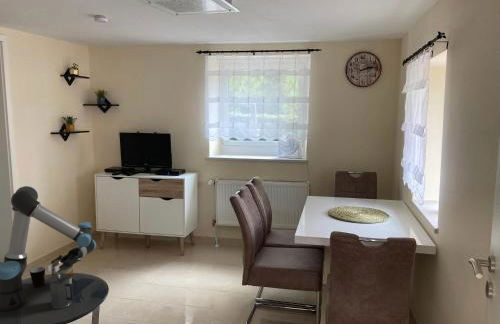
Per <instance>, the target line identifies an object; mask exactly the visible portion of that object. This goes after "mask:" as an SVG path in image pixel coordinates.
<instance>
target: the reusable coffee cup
mask: <svg viewBox="0 0 500 324" xmlns="http://www.w3.org/2000/svg"><path fill="white" fill-rule="evenodd" d="M51 264H52V263H51V262H50V265H51ZM63 264H64V263H63ZM73 266H74V264H73V265H71V266H70V267H67V266H66V267H63V268H62V270H60V273H63V274H73V276H74V268H73ZM56 273H57V272H55V271H54V269H52V270H51V276H53V275H54V274H56ZM73 276H72V277H71V278H70V279H69V282H70V284H73V283H72V281H73V280H72V279H73Z"/></svg>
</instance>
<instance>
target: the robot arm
mask: <svg viewBox="0 0 500 324" xmlns="http://www.w3.org/2000/svg"><path fill="white" fill-rule="evenodd" d="M38 197H39V194H38V192H37V189H36V188H34V187H32V186H28V185H24V186H20V187H19V188H18V189H17V190H16V191H15V192H14V193H13V194H12V195H11V198H10V204H11V206H12V208H11V210H12V211H13V212H14V215H13V219H12V220H13V221H12V227H11V233H10V239H9V246H8V251H7V252H6V253H5V254H4V259H3V262H2V263H0V311H1V312H7V311H8V312H9V311H13V310H17V309H20V308H21V307H23V306H25V305H26V304H28V295H27V294H26V293H25V289H24V288H23V279H22V277H23V275H24V274H25V270H26V269H27V267H28V266H27V265H28V262H27V261H28V260H27V259H28V254H27V253H26V249H27V243H28V235H29V230H30V224H31V218H34V219H35V220H37V221H39V222H40V223H42V224H43V225H46V226H48V227H50V228H51V229H53V230H54V231H56V232H58V233H59V234H62V235H64V237H67V238H69V239H70V240H73V241H74V242H76V244H77V246H75V247H72V249H70V250H69V251H68V253H67V254H65V255H64V256H63V255H62V254H59V255H58V257H56V258H55V259H53V260H51V262H50V264H49V265H48V266H47V267H46V269H47V273H48V272H52V269H54V271H55V272H57V271H59V270H60V269H62V268H63V267H66V266H67V267H70V266H71V265H73V266H74V264H77V263H78V262H81V261H82V258H84V257H85V256H87V255H89V254H90V253H92V252H94V250H96V248H97V243H96V241H95V240H94V239H93V227H92V224H91V222H90V221H82V222H80V223H78V225H76V224H74V223H72V222H71V221H69V220H67V219H65V218H63V217H62V216H60V215H59V214H57V213H55V212H53V211H52V210H50V209H48V208H47V207H45V206H43V205H41V202H40V201H38ZM56 260H61V263H60V264H59V265H57V266H55V267H54V261H56ZM51 263H52V264H51ZM63 263H64V264H63Z"/></svg>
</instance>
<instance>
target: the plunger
mask: <svg viewBox="0 0 500 324" xmlns="http://www.w3.org/2000/svg"><path fill="white" fill-rule="evenodd" d="M60 263H61V260H56V261H54V267H55V266H57V265H59V264H60ZM60 270H62V269H60ZM60 270H59V271H57V274H58V278H60Z"/></svg>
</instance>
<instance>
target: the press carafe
mask: <svg viewBox="0 0 500 324" xmlns="http://www.w3.org/2000/svg"><path fill="white" fill-rule="evenodd" d="M72 276H74V273H73V274H63V273H60V278H58V274H57V273H56V274H54V275H53V276H52V275H51V276H49V278H47V279H45V281H44V282H45V284H49V293H50V303H51V305H50V307H51V309H53V310H62V309H66V308H68V307H70V306H71V305H72V304H73V303H72V301H74V299H75V298H74V296H75V295H74V288H73V287H74V285H73V283H72V284H70V282H69V279H70V278H71V277H72ZM72 278H73V277H72Z"/></svg>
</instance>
